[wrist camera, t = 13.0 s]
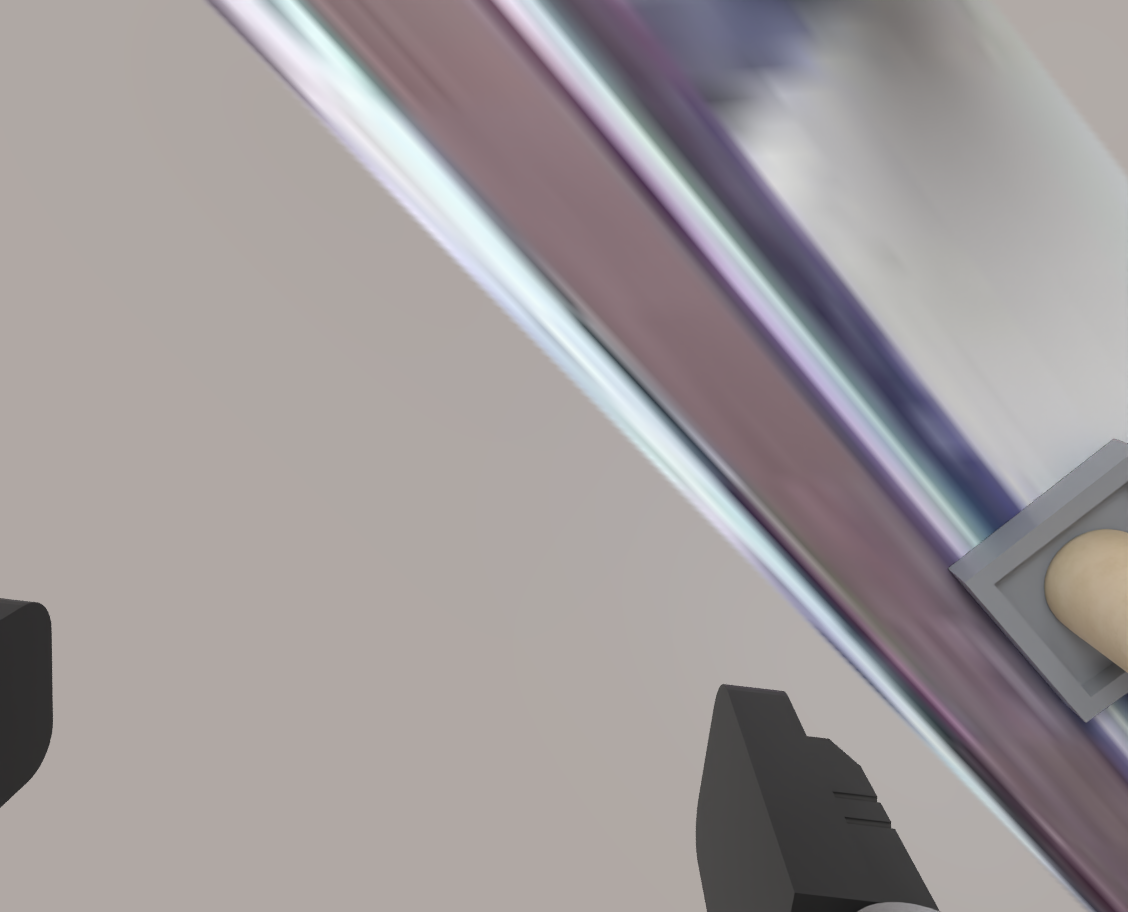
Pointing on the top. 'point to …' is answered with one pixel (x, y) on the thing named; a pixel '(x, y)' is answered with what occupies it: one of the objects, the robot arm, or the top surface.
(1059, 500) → the holder
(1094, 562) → the candle
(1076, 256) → the top surface
